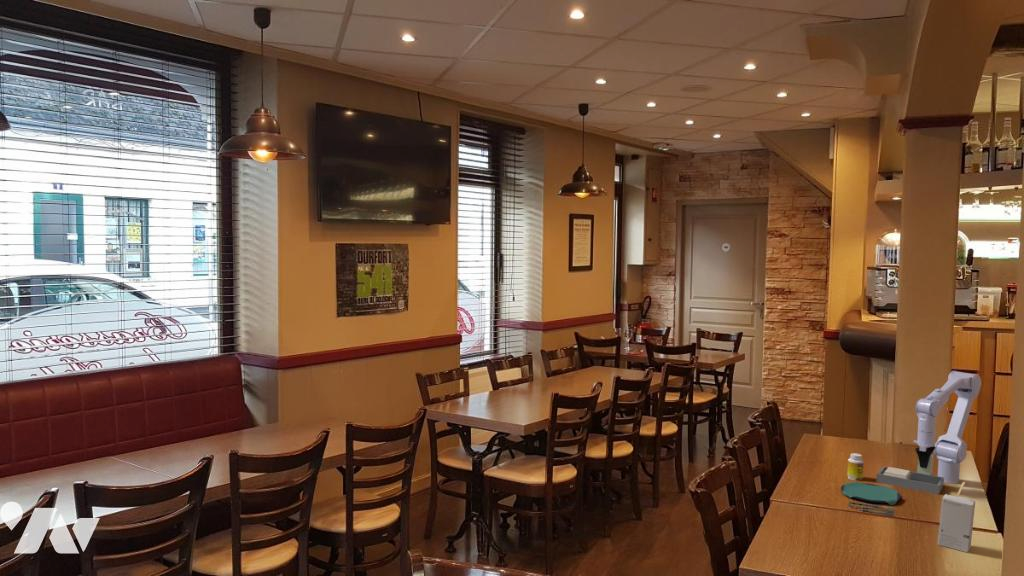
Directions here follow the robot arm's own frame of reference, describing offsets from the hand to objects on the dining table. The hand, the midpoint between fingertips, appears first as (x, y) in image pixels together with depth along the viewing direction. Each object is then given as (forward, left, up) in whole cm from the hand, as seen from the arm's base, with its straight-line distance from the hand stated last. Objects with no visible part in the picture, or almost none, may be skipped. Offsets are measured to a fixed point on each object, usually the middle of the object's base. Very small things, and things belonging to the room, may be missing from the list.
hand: (924, 466), depth 271 cm
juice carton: (0, 0, -2) cm, 3 cm away
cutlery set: (+28, -13, -9) cm, 32 cm away
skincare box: (+56, +16, -9) cm, 59 cm away
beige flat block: (0, -9, -8) cm, 12 cm away
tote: (0, -5, -9) cm, 10 cm away
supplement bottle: (+7, -23, -9) cm, 25 cm away
